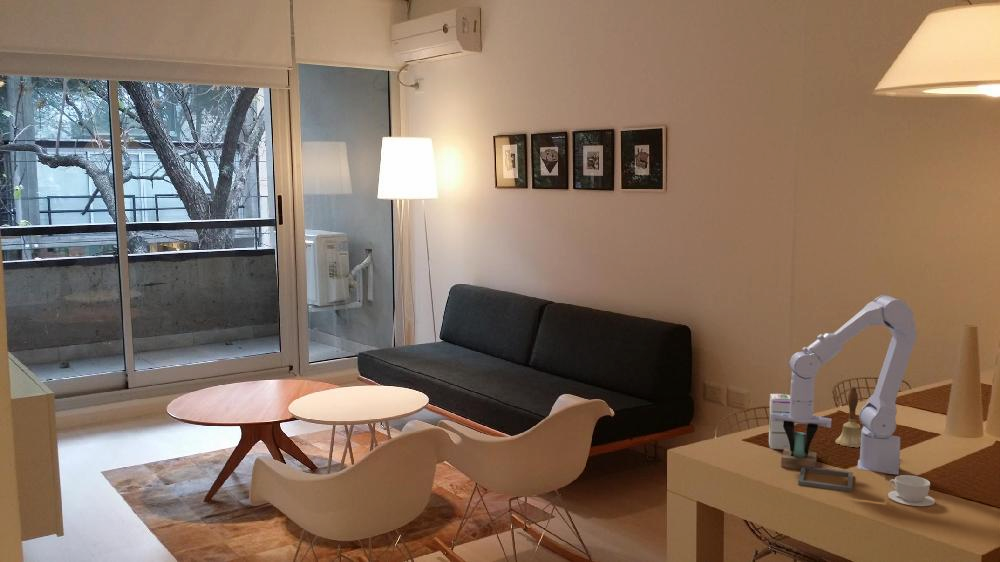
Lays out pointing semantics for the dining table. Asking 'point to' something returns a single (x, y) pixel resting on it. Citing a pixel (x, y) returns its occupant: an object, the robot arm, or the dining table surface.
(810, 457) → the block
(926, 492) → the teacup
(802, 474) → the tray
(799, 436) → the dowel
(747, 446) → the dining table surface
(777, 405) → the syrup box
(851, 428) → the hand bell
